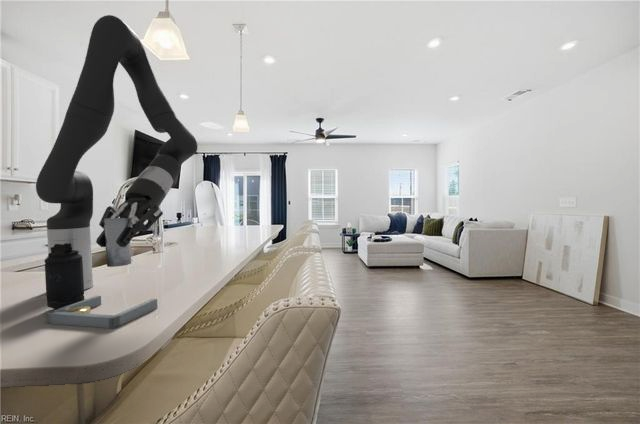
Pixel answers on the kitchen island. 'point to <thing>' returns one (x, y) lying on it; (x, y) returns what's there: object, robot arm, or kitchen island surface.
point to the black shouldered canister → (64, 276)
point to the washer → (80, 310)
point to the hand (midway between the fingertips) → (110, 244)
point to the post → (113, 250)
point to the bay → (97, 319)
